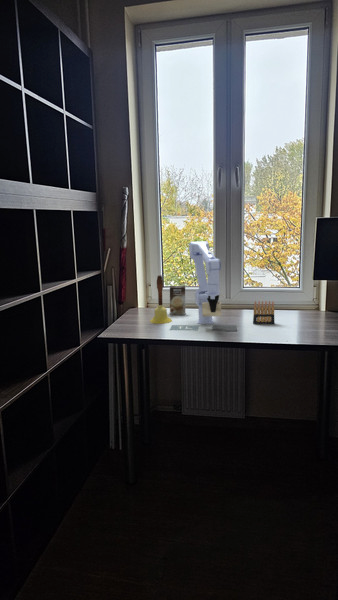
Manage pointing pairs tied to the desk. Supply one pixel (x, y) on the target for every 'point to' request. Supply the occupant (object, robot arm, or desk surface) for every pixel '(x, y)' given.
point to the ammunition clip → (263, 313)
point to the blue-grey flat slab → (184, 327)
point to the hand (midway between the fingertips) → (213, 310)
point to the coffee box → (177, 300)
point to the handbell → (160, 306)
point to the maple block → (207, 311)
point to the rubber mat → (224, 328)
